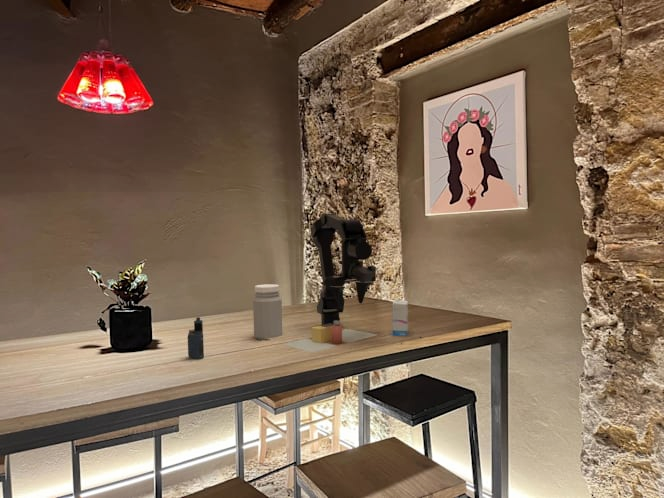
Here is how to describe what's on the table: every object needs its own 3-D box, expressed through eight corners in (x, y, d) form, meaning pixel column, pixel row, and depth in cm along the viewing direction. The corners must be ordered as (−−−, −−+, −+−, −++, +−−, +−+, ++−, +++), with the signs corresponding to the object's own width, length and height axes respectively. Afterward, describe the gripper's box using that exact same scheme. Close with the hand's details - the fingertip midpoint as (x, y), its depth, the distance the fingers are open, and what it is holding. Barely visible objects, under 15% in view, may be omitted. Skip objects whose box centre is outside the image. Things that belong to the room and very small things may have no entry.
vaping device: (199, 360, 138) (197, 318, 138) (186, 357, 141) (185, 317, 141) (205, 357, 141) (204, 317, 140) (193, 355, 143) (192, 315, 143)
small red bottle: (330, 343, 151) (329, 321, 151) (337, 341, 154) (336, 319, 153) (337, 344, 149) (336, 322, 149) (344, 342, 151) (343, 320, 151)
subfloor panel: (280, 347, 151) (280, 344, 151) (347, 331, 172) (347, 329, 172) (311, 355, 141) (311, 352, 141) (378, 337, 162) (378, 334, 161)
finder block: (312, 341, 154) (311, 326, 154) (330, 337, 160) (329, 322, 159) (320, 343, 151) (320, 328, 151) (338, 338, 157) (338, 324, 157)
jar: (288, 336, 166) (287, 285, 165) (266, 342, 159) (264, 288, 158) (270, 333, 172) (268, 283, 172) (248, 338, 165) (246, 286, 164)
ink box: (407, 339, 159) (406, 303, 158) (392, 338, 160) (391, 303, 159) (408, 333, 167) (408, 299, 167) (394, 333, 168) (393, 299, 168)
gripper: (346, 261, 146) (347, 312, 146) (387, 257, 158) (388, 304, 159) (322, 259, 154) (323, 307, 155) (363, 255, 166) (363, 300, 167)
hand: (350, 305), depth 159 cm, fingers open, 9 cm apart
